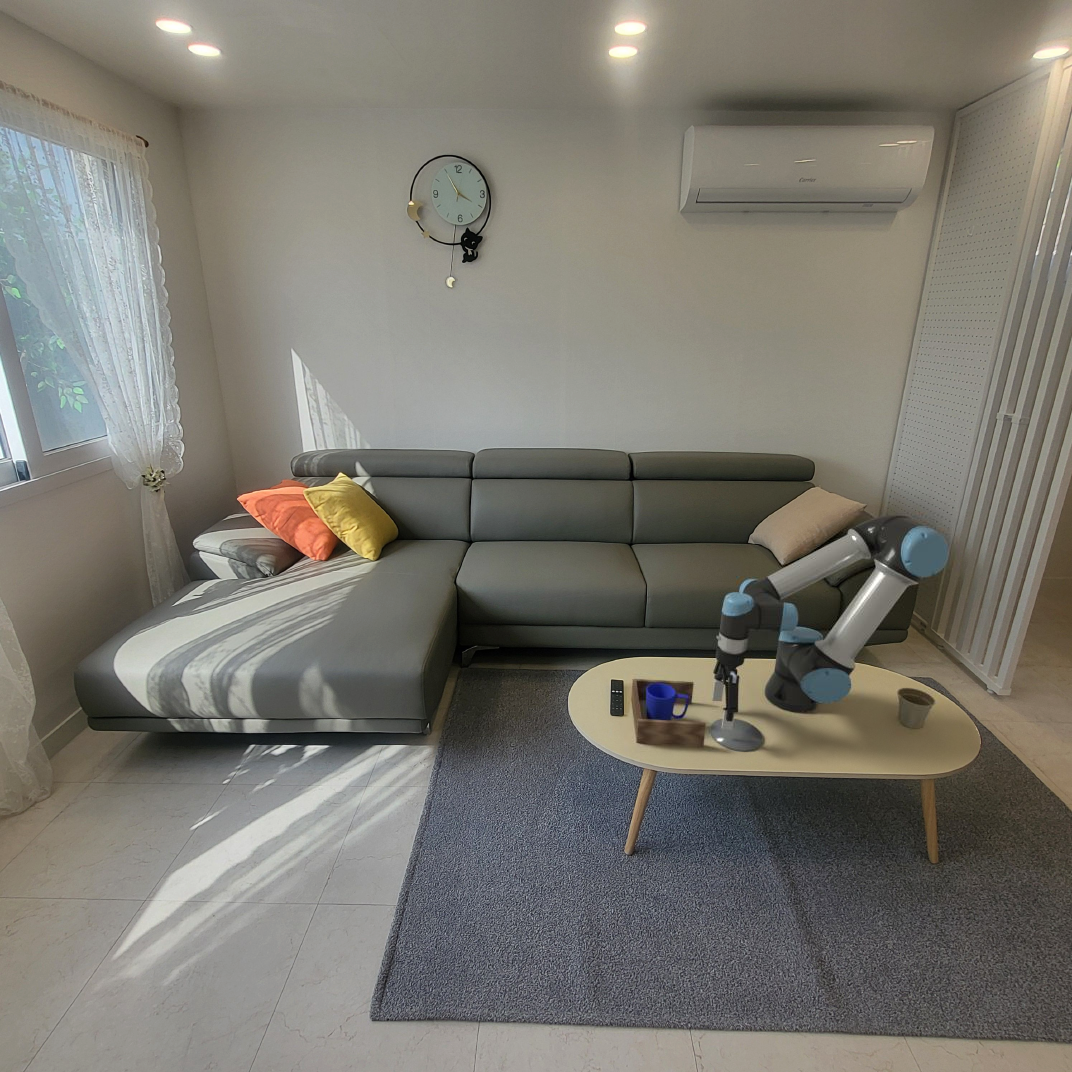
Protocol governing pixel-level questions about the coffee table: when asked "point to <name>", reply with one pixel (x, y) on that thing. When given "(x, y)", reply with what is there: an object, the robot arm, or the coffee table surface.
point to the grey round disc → (737, 735)
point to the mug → (662, 702)
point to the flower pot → (914, 706)
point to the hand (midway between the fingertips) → (721, 714)
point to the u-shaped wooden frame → (665, 729)
